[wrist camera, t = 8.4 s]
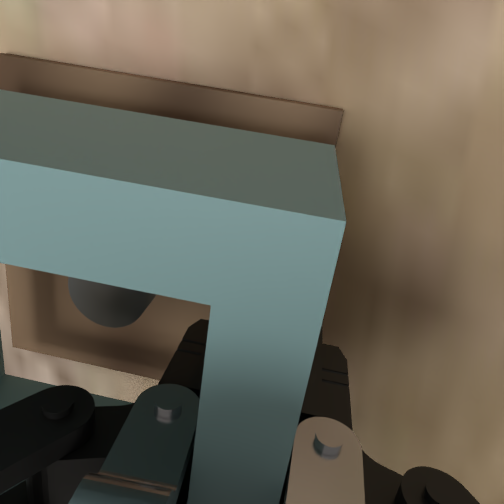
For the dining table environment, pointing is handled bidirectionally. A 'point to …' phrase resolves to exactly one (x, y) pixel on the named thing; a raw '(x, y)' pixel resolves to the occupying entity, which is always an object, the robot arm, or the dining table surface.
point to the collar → (186, 257)
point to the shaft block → (113, 297)
